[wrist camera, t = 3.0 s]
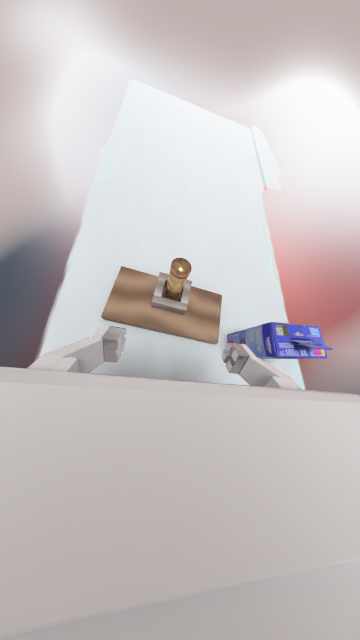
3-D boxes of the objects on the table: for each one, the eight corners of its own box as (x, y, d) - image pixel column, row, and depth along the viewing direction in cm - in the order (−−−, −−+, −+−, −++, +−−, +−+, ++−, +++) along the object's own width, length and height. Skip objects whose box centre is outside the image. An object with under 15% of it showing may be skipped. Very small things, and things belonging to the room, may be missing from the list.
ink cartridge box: (228, 358, 29) (294, 357, 16) (226, 334, 31) (284, 314, 18) (265, 359, 31) (352, 358, 18) (261, 336, 33) (338, 319, 20)
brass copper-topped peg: (176, 304, 29) (189, 277, 20) (162, 300, 28) (169, 271, 19) (179, 292, 30) (192, 261, 21) (165, 288, 29) (173, 255, 20)
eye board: (214, 344, 30) (223, 341, 26) (103, 319, 26) (95, 312, 23) (218, 297, 34) (227, 290, 30) (122, 270, 30) (119, 257, 26)
